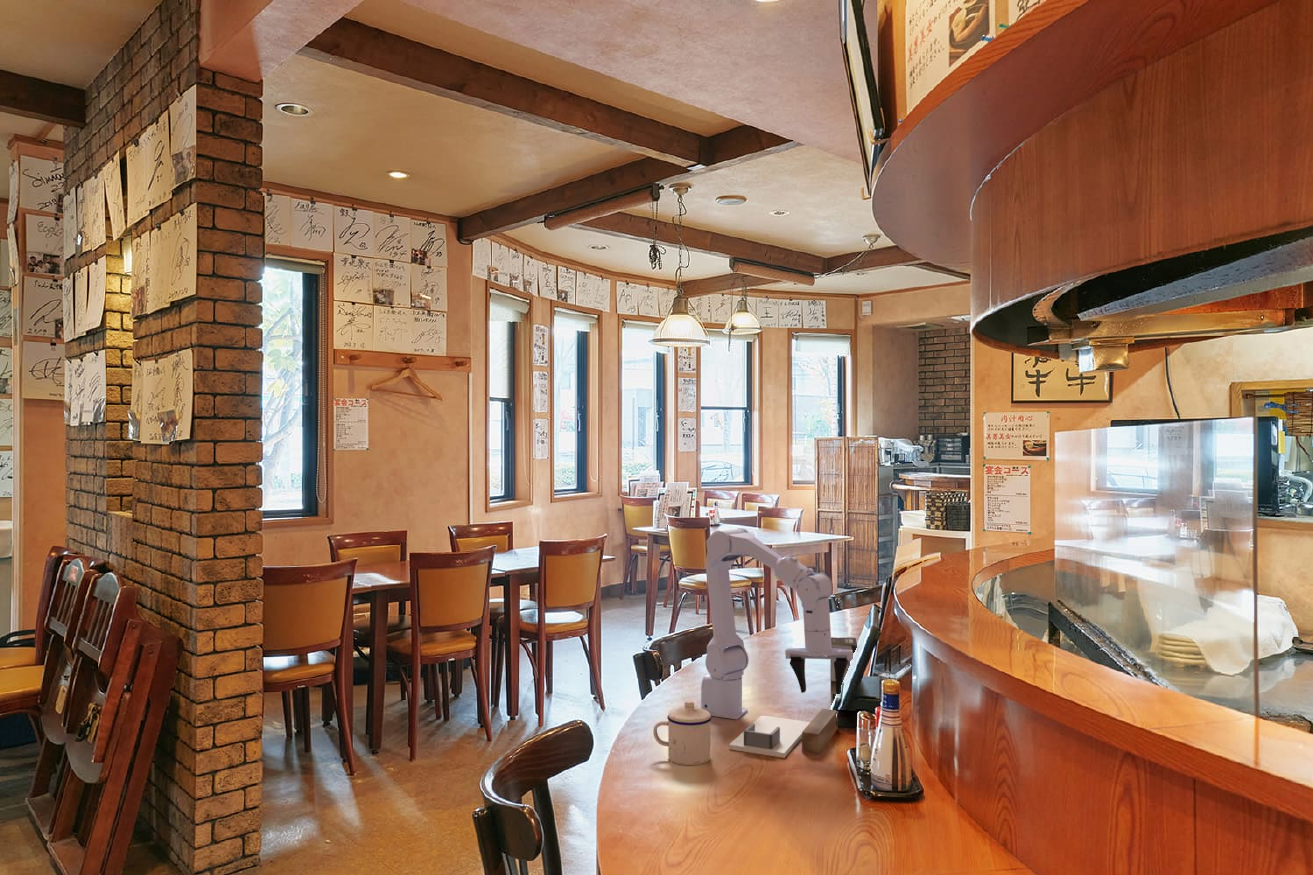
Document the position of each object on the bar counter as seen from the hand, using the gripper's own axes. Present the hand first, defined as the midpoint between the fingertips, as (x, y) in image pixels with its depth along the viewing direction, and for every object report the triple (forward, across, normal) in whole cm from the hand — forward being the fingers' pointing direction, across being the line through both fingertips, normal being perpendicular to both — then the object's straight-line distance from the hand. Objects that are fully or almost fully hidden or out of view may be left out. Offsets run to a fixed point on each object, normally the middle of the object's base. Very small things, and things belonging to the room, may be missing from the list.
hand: (821, 692), depth 193 cm
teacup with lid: (+9, -25, -22) cm, 34 cm away
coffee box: (+10, 0, +27) cm, 29 cm away
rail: (+11, -1, 0) cm, 11 cm away
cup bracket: (+10, -11, -2) cm, 15 cm away
